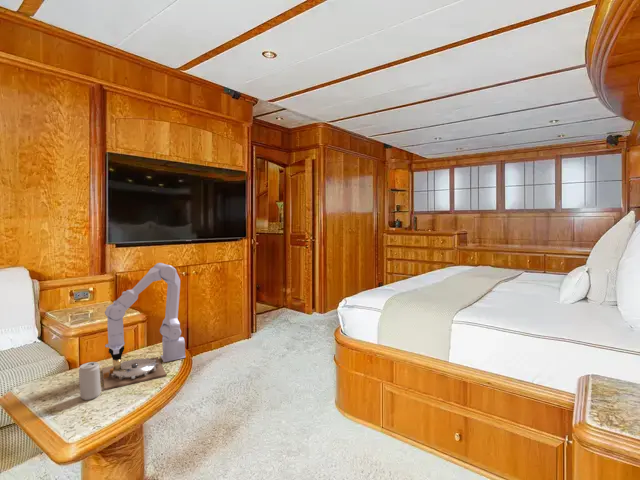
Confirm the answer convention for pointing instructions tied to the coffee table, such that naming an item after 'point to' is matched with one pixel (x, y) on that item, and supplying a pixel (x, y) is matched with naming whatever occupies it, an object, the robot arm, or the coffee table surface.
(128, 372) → the sprocket wheel
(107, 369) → the walnut board
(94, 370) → the beverage can
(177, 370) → the coffee table surface
